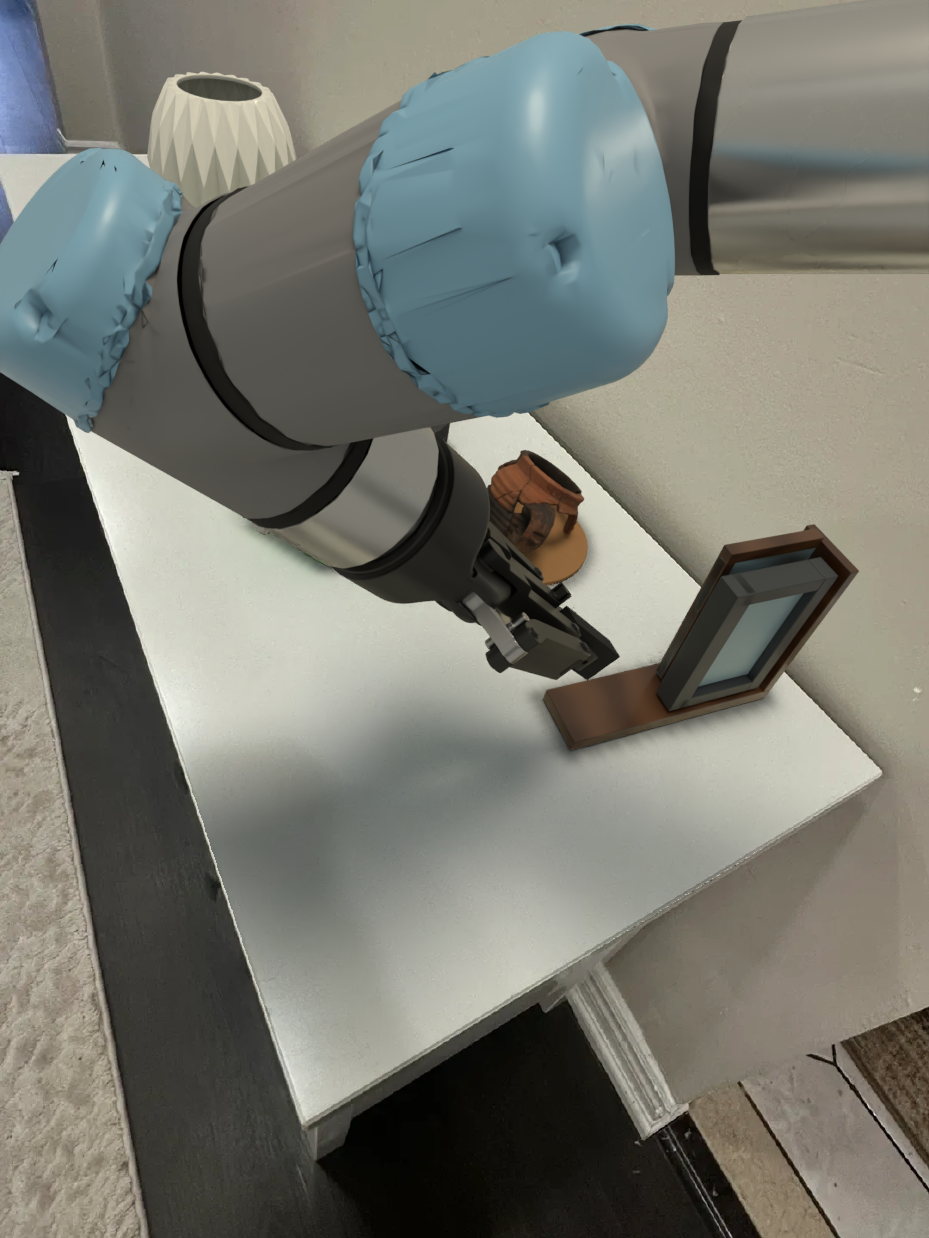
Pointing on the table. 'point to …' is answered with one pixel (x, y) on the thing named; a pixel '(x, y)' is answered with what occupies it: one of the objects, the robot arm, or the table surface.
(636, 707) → the brown piece
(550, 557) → the coaster
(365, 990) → the table surface
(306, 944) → the table surface
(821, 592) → the window sash
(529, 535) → the pottery mug
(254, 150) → the vase
